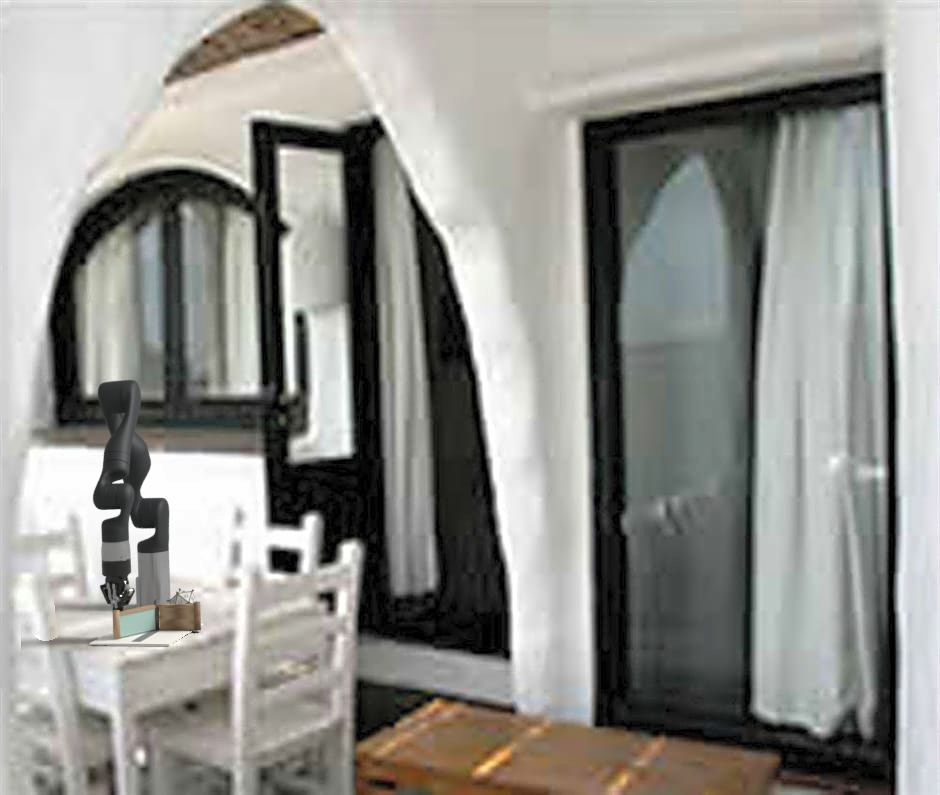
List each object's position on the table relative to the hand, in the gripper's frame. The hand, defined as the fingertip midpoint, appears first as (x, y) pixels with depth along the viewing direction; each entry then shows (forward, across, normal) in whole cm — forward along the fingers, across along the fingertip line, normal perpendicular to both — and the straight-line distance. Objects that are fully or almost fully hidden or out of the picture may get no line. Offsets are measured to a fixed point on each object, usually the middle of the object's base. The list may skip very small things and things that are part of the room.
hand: (118, 620), depth 315 cm
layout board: (+4, +4, +6) cm, 9 cm away
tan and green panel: (+4, +3, +3) cm, 6 cm away
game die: (+5, -6, +26) cm, 28 cm away
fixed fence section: (+4, +9, +13) cm, 16 cm away
